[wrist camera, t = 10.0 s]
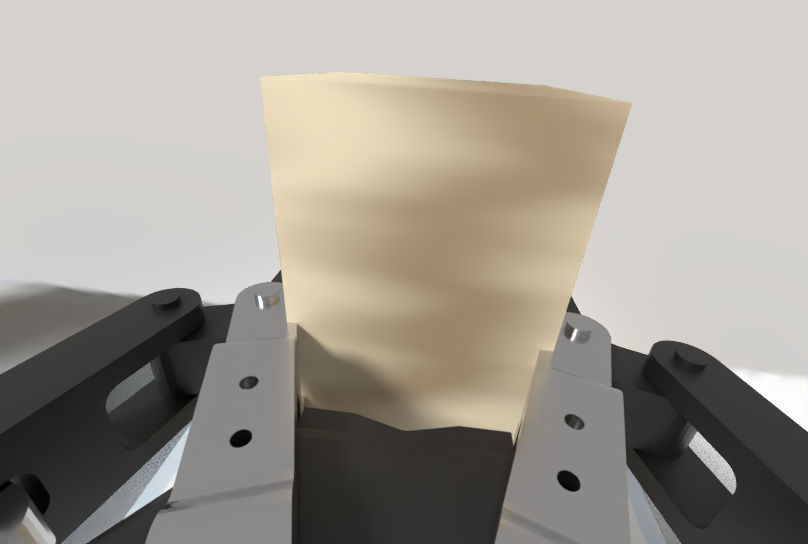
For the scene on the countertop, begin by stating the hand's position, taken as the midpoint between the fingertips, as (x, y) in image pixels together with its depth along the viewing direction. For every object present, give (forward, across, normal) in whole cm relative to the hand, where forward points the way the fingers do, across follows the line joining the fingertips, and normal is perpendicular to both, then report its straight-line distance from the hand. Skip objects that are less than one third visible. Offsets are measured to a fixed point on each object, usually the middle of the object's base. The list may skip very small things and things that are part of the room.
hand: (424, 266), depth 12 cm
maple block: (-3, 0, +7) cm, 7 cm away
